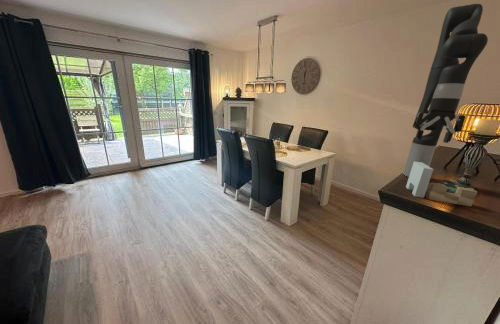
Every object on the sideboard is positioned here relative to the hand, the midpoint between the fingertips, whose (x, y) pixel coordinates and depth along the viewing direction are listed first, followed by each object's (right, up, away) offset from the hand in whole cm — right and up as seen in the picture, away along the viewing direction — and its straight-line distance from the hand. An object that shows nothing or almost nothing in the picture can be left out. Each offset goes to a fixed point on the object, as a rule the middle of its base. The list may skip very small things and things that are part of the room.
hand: (431, 141), depth 78 cm
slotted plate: (-1, -21, +7) cm, 22 cm away
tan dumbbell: (+6, -23, 0) cm, 24 cm away
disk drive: (+19, -21, +11) cm, 31 cm away
